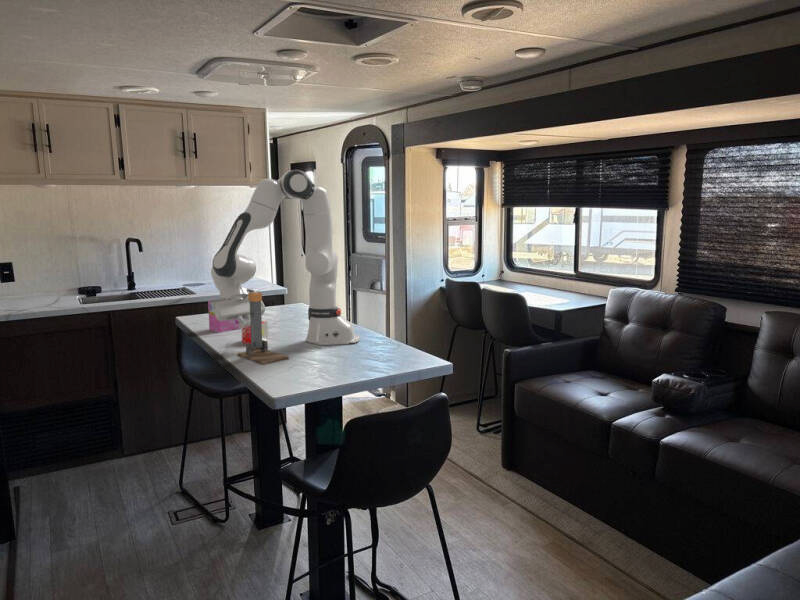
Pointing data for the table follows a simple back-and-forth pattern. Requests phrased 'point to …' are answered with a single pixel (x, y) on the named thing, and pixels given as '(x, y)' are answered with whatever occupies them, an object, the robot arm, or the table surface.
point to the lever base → (261, 354)
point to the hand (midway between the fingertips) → (247, 325)
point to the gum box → (221, 322)
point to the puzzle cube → (247, 332)
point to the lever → (256, 319)
